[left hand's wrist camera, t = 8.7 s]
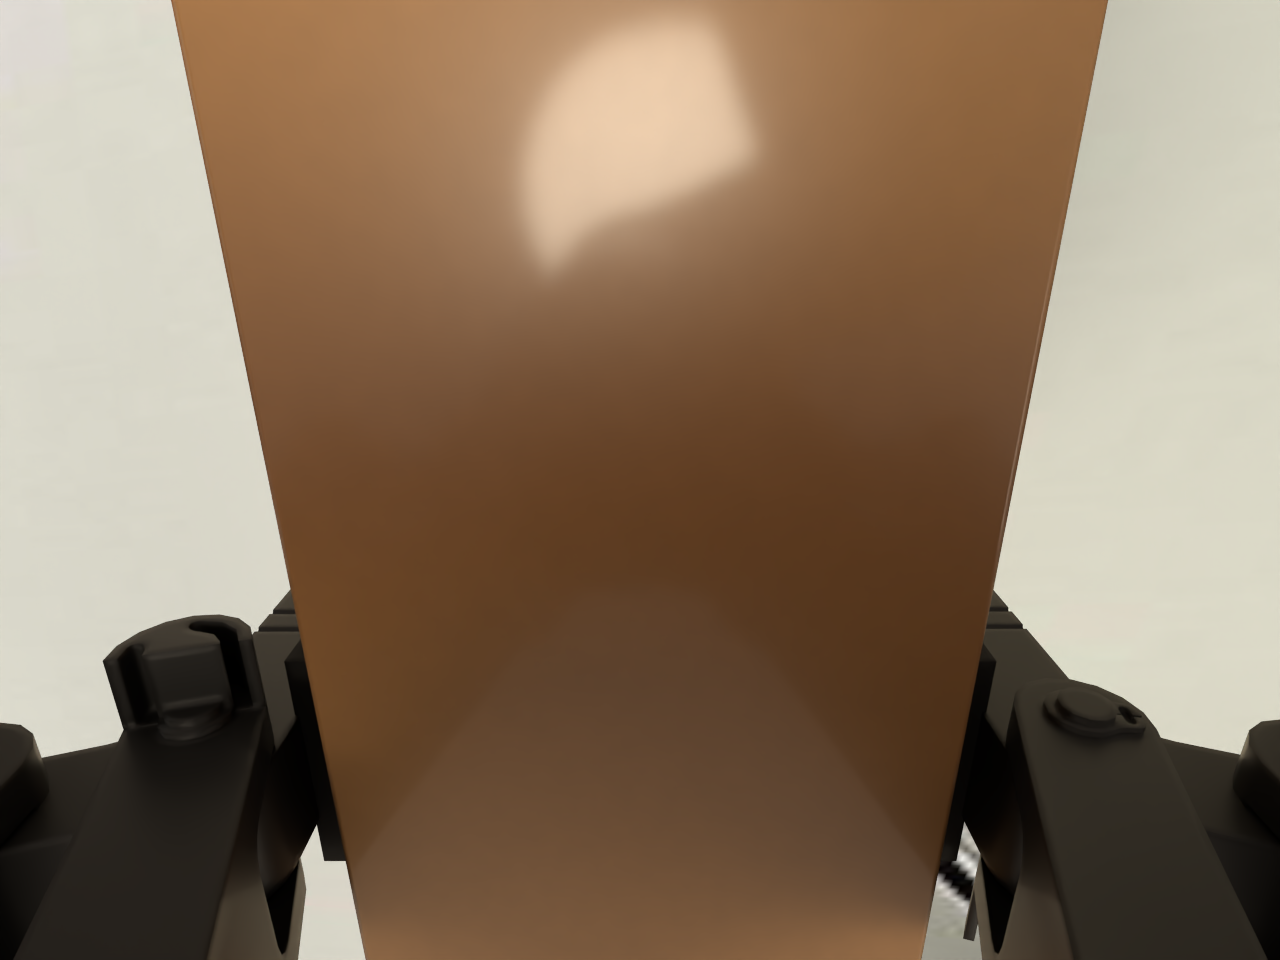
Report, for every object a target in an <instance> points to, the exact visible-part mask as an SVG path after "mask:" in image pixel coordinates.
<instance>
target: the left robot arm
mask: <svg viewBox="0 0 1280 960" xmlns="http://www.w3.org/2000/svg"><path fill="white" fill-rule="evenodd" d="M103 664H104V667H105V670H106V673H107V677H108V680H109V683H110V687H111V690H112V693H113V696H114V700H115V703H116V706H117V709H118V713H119V716H120V719H121V723H122V726H123V729H124V730H123V733H122V735H121V737H120V739H119V741H118V742H115V743H112V744H108V745H103V746H98V747H93V748H88V749H84V750H79V751H74V752H69V753H64V754H59V755H54V756H49V757H44V758H41V755H40V752H39V750H38V747H37V744H36V741H35V738H34V736H33V733H31V732H30V731H28V730H27V729H26V728H24V727H23V726H21V725H16V724H7V723H0V960H298V954H299V946H300V937H301V929H302V920H303V912H304V903H305V895H306V885H305V878H304V872H303V868H302V863H301V858H300V857H301V855H302V853H303V851H304V849H305V847H306V845H307V843H308V841H309V839H310V837H311V835H312V833H313V831H314V829H315V827H316V825H317V827H318V832H319V837H320V842H321V847H322V852H323V857H324V861H346V859H345V855H344V850H343V845H342V840H341V835H340V830H339V825H338V820H337V815H336V810H335V805H334V800H333V795H332V790H331V785H330V781H329V776H328V771H327V766H326V761H325V756H324V751H323V746H322V741H321V736H320V731H319V726H318V721H317V716H316V712H315V707H314V702H313V697H312V692H311V687H310V682H309V677H308V672H307V667H306V662H305V657H304V652H303V647H302V642H301V638H300V633H299V628H298V623H297V618H296V613H295V608H294V603H293V598H292V593H291V590H290V591H289V592H288V593H287V594H286V595H285V597H284V598H283V599H282V600H281V601H280V603H279V604H278V605H277V606H276V607H275V608H274V610H273V614H269V616H268V617H267V618H266V619H265V620H264V622H263V623H262V624H261V625H260V626H259V631H258V632H254V633H253V635H252V632H251V628H250V626H249V625H247V624H246V623H244V622H243V621H242V620H240V619H239V618H234V617H229V616H224V615H200V616H191V617H186V618H182V619H177V620H173V621H168V622H165V623H162V624H160V625H157V626H154V627H152V628H149V629H147V630H144V631H141V632H139V633H137V634H136V635H134V636H132V637H131V638H129V639H128V640H126V641H124V642H123V643H121V644H119V645H118V646H116V647H115V648H114V650H113V651H112V652H111V653H110V654H109V655H108V656H107V657H106V658H105V659H104V660H103ZM964 822H965V824H966V826H967V828H968V830H969V832H970V834H971V836H972V838H973V840H974V842H975V844H976V846H977V848H978V850H979V852H980V858H979V863H978V868H977V872H976V877H975V881H974V886H973V891H972V895H971V900H970V904H969V909H968V914H967V918H966V923H965V930H964V936H963V939H967V940H971V941H974V938H975V934H976V929H977V925H978V927H979V935H980V944H981V952H982V960H1280V720H1272V721H1262V722H1260V723H1259V724H1257V725H1256V726H1255V727H1253V728H1252V729H1250V730H1249V733H1248V735H1247V738H1246V741H1245V744H1244V746H1243V749H1242V752H1241V755H1239V754H1234V753H1229V752H1224V751H1219V750H1214V749H1209V748H1204V747H1199V746H1194V745H1189V744H1184V743H1179V742H1175V741H1171V740H1167V739H1163V738H1161V737H1160V735H1159V733H1158V731H1157V729H1156V728H1155V727H1154V725H1153V724H1152V723H1151V721H1150V720H1149V719H1148V718H1147V716H1146V715H1145V714H1144V713H1143V712H1142V711H1141V710H1139V709H1138V708H1136V707H1135V706H1134V705H1132V704H1131V703H1129V702H1128V701H1126V700H1125V699H1124V698H1122V697H1120V696H1118V695H1115V694H1113V693H1111V692H1109V691H1107V690H1104V689H1102V688H1100V687H1098V686H1094V685H1090V684H1086V683H1083V682H1079V681H1075V680H1071V679H1069V678H1068V677H1067V676H1066V675H1065V674H1064V672H1063V671H1062V670H1061V669H1060V668H1059V667H1058V665H1057V664H1056V663H1055V662H1054V661H1053V660H1052V658H1051V657H1050V656H1049V655H1048V654H1047V653H1046V651H1045V650H1044V649H1043V648H1042V647H1041V645H1040V644H1039V643H1038V642H1037V641H1036V640H1035V638H1034V637H1033V636H1032V635H1031V634H1030V633H1029V631H1028V630H1027V629H1023V624H1022V623H1021V622H1020V621H1019V620H1018V618H1017V617H1016V616H1015V615H1014V614H1013V613H1012V612H1009V611H1008V607H1007V605H1006V604H1005V603H1004V602H1003V601H1002V600H1001V598H1000V597H999V596H998V595H997V594H996V593H995V591H994V590H993V593H992V598H991V604H990V609H989V614H988V619H987V624H986V629H985V634H984V640H983V645H982V650H981V655H980V660H979V665H978V670H977V675H976V681H975V686H974V691H973V696H972V701H971V706H970V711H969V717H968V722H967V727H966V732H965V737H964V742H963V747H962V752H961V758H960V763H959V768H958V773H957V778H956V783H955V788H954V794H953V799H952V804H951V809H950V814H949V819H948V824H947V829H946V835H945V840H944V845H943V850H942V855H941V860H940V861H956V860H957V855H958V850H959V845H960V840H961V835H962V830H963V825H964Z"/></svg>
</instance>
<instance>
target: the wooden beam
mask: <svg viewBox="0 0 1280 960" xmlns="http://www.w3.org/2000/svg"><path fill="white" fill-rule="evenodd" d="M171 2H172V6H173V11H174V16H175V21H176V26H177V31H178V36H179V41H180V46H181V51H182V56H183V61H184V66H185V71H186V75H187V80H188V85H189V90H190V95H191V100H192V105H193V110H194V115H195V120H196V125H197V130H198V135H199V140H200V145H201V149H202V154H203V159H204V164H205V169H206V174H207V179H208V184H209V189H210V194H211V199H212V204H213V209H214V214H215V218H216V223H217V228H218V233H219V238H220V243H221V248H222V253H223V258H224V263H225V268H226V273H227V278H228V283H229V287H230V292H231V297H232V302H233V307H234V312H235V317H236V322H237V327H238V332H239V337H240V342H241V347H242V352H243V357H244V361H245V366H246V371H247V376H248V381H249V386H250V391H251V396H252V401H253V406H254V411H255V416H256V421H257V426H258V430H259V435H260V440H261V445H262V450H263V455H264V460H265V465H266V470H267V475H268V480H269V485H270V490H271V495H272V500H273V504H274V509H275V514H276V519H277V524H278V529H279V534H280V539H281V544H282V549H283V554H284V559H285V564H286V569H287V573H288V578H289V583H290V588H291V593H292V598H293V603H294V608H295V613H296V618H297V623H298V628H299V633H300V638H301V642H302V647H303V652H304V657H305V662H306V667H307V672H308V677H309V682H310V687H311V692H312V697H313V702H314V707H315V712H316V716H317V721H318V726H319V731H320V736H321V741H322V746H323V751H324V756H325V761H326V766H327V771H328V776H329V781H330V785H331V790H332V795H333V800H334V805H335V810H336V815H337V820H338V825H339V830H340V835H341V840H342V845H343V850H344V855H345V859H346V864H347V869H348V874H349V879H350V884H351V889H352V894H353V899H354V904H355V909H356V914H357V919H358V924H359V928H360V933H361V938H362V943H363V948H364V953H365V958H366V960H921V958H922V953H923V948H924V942H925V937H926V932H927V927H928V922H929V917H930V912H931V906H932V901H933V896H934V891H935V886H936V881H937V876H938V871H939V865H940V860H941V855H942V850H943V845H944V840H945V835H946V829H947V824H948V819H949V814H950V809H951V804H952V799H953V794H954V788H955V783H956V778H957V773H958V768H959V763H960V758H961V752H962V747H963V742H964V737H965V732H966V727H967V722H968V717H969V711H970V706H971V701H972V696H973V691H974V686H975V681H976V675H977V670H978V665H979V660H980V655H981V650H982V645H983V640H984V634H985V629H986V624H987V619H988V614H989V609H990V604H991V598H992V593H993V588H994V583H995V578H996V573H997V568H998V562H999V557H1000V552H1001V547H1002V542H1003V537H1004V532H1005V527H1006V521H1007V516H1008V511H1009V506H1010V501H1011V496H1012V491H1013V485H1014V480H1015V475H1016V470H1017V465H1018V460H1019V455H1020V450H1021V444H1022V439H1023V434H1024V429H1025V424H1026V419H1027V414H1028V408H1029V403H1030V398H1031V393H1032V388H1033V383H1034V378H1035V373H1036V367H1037V362H1038V357H1039V352H1040V347H1041V342H1042V337H1043V331H1044V326H1045V321H1046V316H1047V311H1048V306H1049V301H1050V296H1051V290H1052V285H1053V280H1054V275H1055V270H1056V265H1057V260H1058V254H1059V249H1060V244H1061V239H1062V234H1063V229H1064V224H1065V219H1066V213H1067V208H1068V203H1069V198H1070V193H1071V188H1072V183H1073V177H1074V172H1075V167H1076V162H1077V157H1078V152H1079V147H1080V141H1081V136H1082V131H1083V126H1084V121H1085V116H1086V111H1087V106H1088V100H1089V95H1090V90H1091V85H1092V80H1093V75H1094V70H1095V64H1096V59H1097V54H1098V49H1099V44H1100V39H1101V34H1102V29H1103V23H1104V18H1105V13H1106V8H1107V3H1108V0H171Z"/></svg>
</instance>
